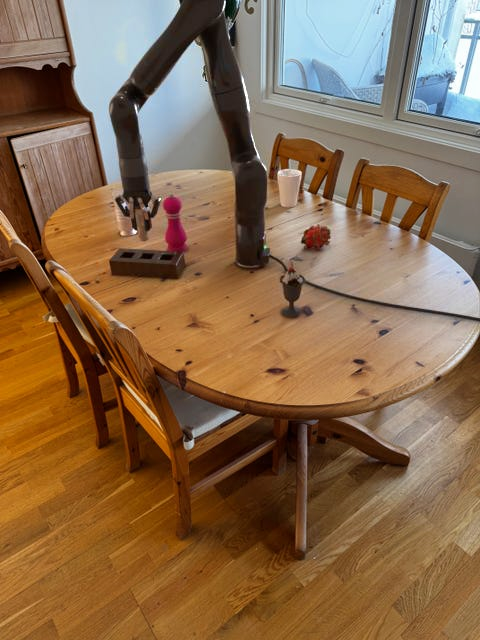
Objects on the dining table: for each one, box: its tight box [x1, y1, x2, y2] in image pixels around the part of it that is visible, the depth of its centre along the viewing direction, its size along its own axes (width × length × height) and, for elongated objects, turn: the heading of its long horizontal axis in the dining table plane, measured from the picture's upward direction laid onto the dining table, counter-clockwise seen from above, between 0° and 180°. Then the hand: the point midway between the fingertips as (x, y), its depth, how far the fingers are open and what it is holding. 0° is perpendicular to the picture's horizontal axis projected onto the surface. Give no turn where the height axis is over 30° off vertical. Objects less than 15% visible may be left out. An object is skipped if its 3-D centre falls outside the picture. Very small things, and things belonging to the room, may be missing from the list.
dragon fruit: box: [300, 223, 332, 251], centre depth 154 cm, size 8×8×12 cm
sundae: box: [279, 258, 307, 318], centre depth 120 cm, size 7×7×15 cm
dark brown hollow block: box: [108, 247, 186, 280], centre depth 145 cm, size 21×9×5 cm, turn 81°
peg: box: [134, 205, 150, 242], centre depth 137 cm, size 3×3×11 cm
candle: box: [111, 188, 138, 237], centre depth 166 cm, size 7×7×15 cm
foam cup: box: [277, 168, 303, 208], centre depth 186 cm, size 10×9×13 cm
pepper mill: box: [162, 192, 188, 253], centre depth 152 cm, size 7×7×20 cm
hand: (142, 229), depth 138 cm, fingers closed on peg, 3 cm apart
